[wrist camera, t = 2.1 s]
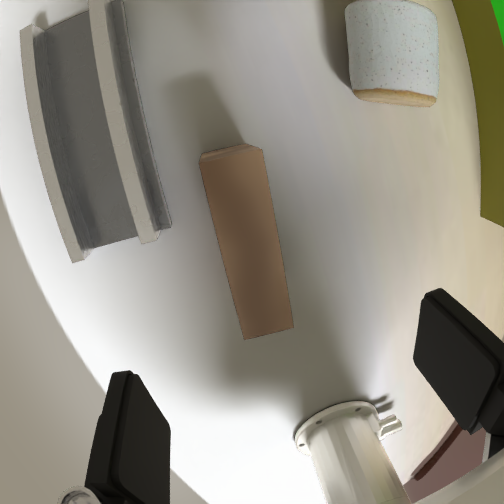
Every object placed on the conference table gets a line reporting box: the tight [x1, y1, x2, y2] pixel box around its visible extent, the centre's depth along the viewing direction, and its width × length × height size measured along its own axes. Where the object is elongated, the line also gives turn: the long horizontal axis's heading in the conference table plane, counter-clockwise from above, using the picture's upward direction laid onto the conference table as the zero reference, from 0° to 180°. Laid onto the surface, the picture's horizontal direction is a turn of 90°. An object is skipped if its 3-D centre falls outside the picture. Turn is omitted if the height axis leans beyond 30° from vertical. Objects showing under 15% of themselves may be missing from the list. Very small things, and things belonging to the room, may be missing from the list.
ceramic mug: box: [344, 0, 439, 107], centre depth 19 cm, size 11×8×8 cm
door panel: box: [199, 144, 294, 340], centre depth 23 cm, size 4×12×8 cm, turn 12°
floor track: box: [20, 0, 172, 263], centre depth 20 cm, size 9×20×4 cm, turn 12°
